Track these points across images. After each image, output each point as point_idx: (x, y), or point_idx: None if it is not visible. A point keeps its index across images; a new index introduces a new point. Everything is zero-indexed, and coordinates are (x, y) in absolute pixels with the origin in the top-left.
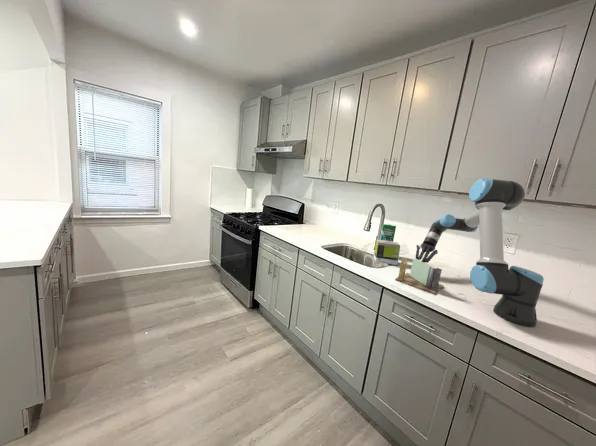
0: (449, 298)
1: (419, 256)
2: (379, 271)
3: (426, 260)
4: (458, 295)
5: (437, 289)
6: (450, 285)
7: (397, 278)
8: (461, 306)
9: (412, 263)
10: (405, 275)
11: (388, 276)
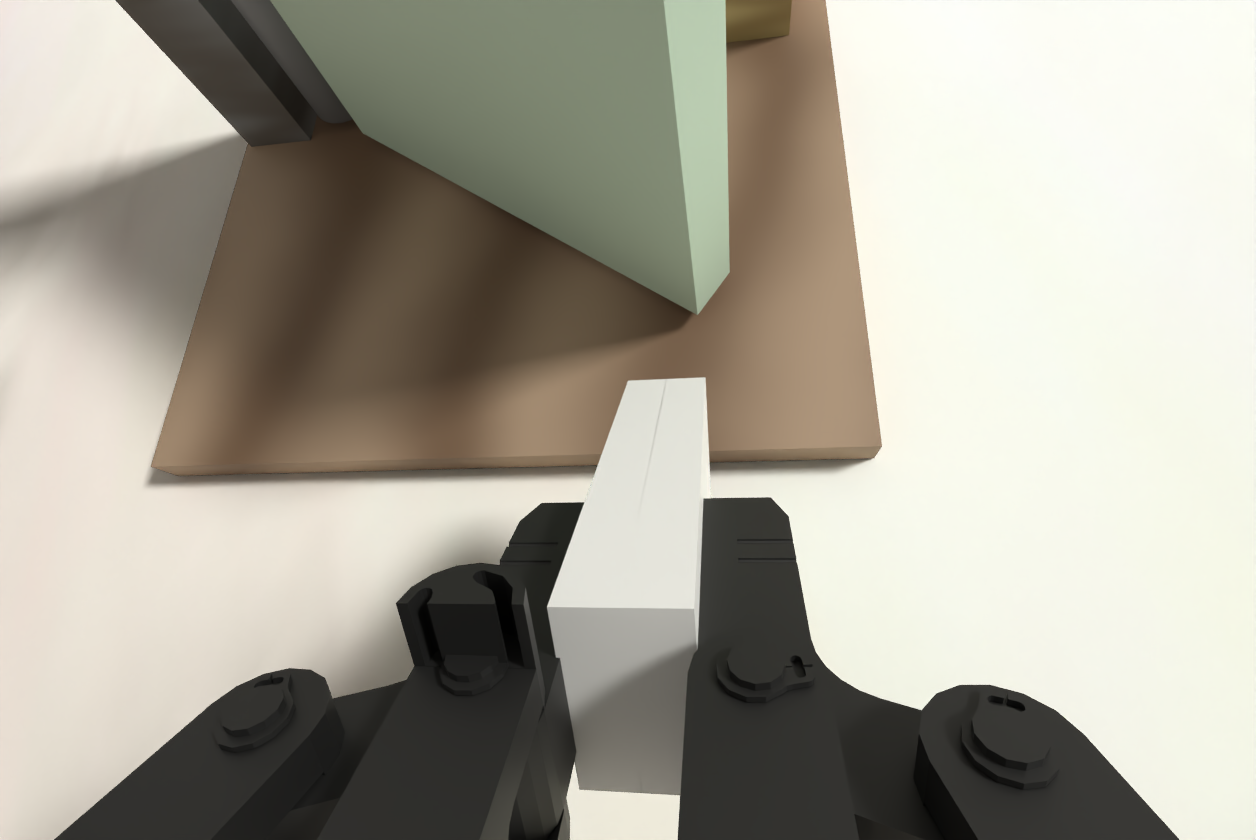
0: (135, 139)
1: (809, 827)
2: (1245, 62)
3: (300, 670)
4: (9, 344)
5: (245, 182)
6: (46, 730)
7: (804, 1)
8: (46, 71)
9: (720, 6)
10: (805, 250)
11: (974, 25)
